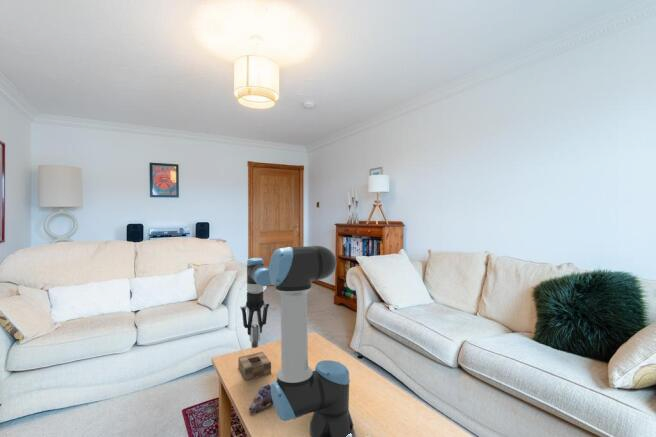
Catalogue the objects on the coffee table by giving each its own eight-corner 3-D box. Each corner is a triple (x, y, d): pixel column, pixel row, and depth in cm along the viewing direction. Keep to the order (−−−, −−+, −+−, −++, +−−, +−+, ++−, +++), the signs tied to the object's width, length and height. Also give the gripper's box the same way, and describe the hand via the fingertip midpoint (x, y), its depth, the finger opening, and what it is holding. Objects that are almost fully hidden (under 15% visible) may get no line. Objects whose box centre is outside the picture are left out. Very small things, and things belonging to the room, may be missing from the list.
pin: (258, 347, 143) (258, 326, 143) (252, 348, 142) (252, 327, 141) (256, 344, 146) (257, 323, 145) (250, 345, 144) (250, 325, 144)
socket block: (270, 372, 142) (271, 362, 142) (245, 380, 136) (245, 369, 136) (262, 361, 152) (262, 351, 152) (238, 367, 146) (238, 357, 146)
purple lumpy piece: (254, 418, 112) (255, 401, 112) (242, 409, 117) (242, 393, 116) (279, 401, 121) (279, 386, 121) (266, 394, 126) (266, 379, 126)
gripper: (268, 287, 150) (268, 334, 151) (236, 291, 142) (235, 340, 143) (274, 291, 143) (273, 340, 144) (240, 295, 135) (239, 347, 136)
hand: (254, 340), depth 143 cm, fingers closed on pin, 3 cm apart
